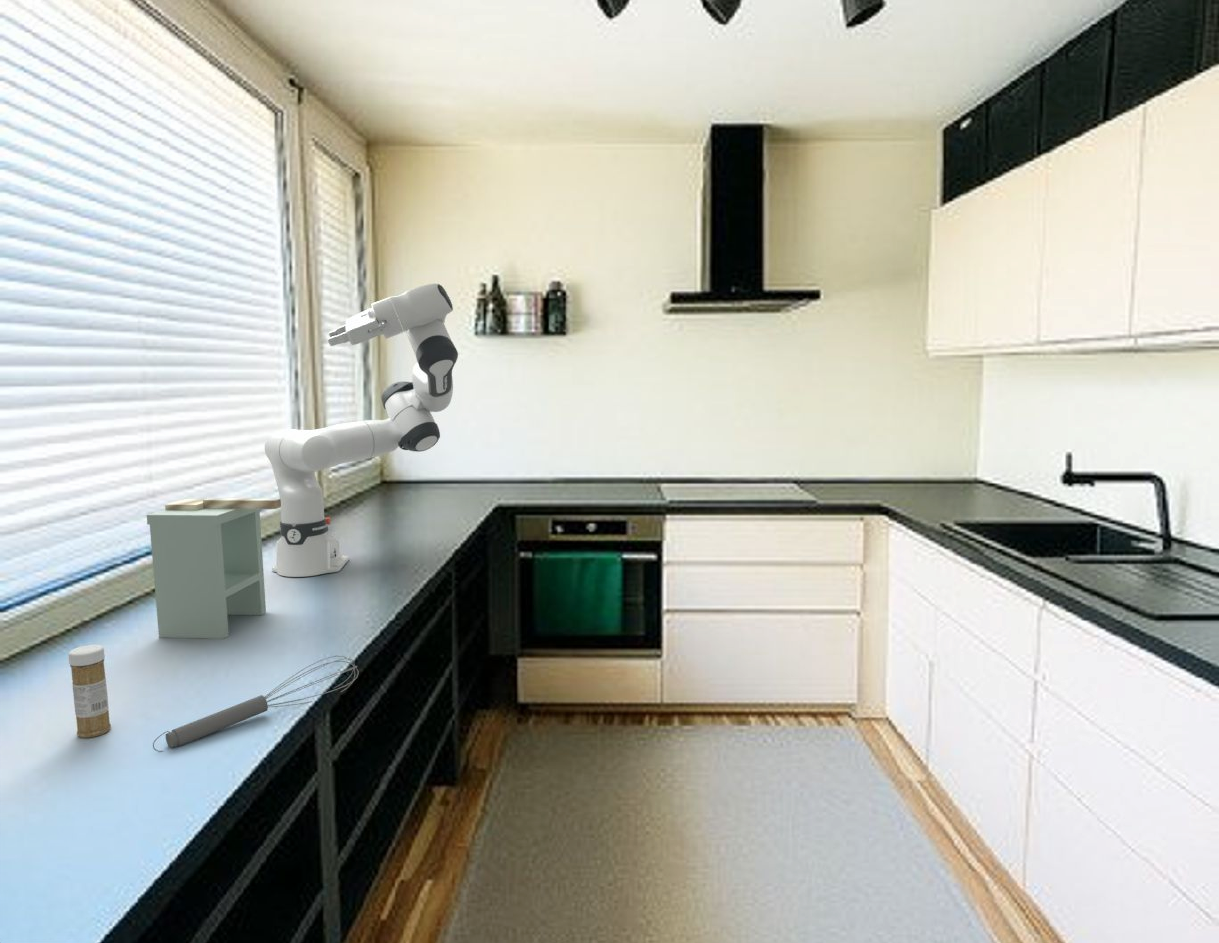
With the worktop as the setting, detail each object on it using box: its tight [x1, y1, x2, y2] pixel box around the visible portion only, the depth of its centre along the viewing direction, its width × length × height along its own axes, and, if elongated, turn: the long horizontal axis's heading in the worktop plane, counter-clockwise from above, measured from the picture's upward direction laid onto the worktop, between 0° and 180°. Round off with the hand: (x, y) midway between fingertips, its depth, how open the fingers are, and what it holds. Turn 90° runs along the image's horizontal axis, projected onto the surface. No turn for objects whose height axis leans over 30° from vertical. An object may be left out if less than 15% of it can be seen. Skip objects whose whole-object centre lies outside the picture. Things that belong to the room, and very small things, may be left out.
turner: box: [164, 497, 281, 510], centre depth 174 cm, size 23×7×2 cm, turn 86°
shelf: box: [146, 508, 267, 640], centre depth 176 cm, size 18×15×26 cm
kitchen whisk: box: [152, 655, 359, 753], centre depth 131 cm, size 6×34×6 cm, turn 140°
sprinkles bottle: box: [68, 644, 112, 739], centre depth 125 cm, size 5×5×13 cm
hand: (329, 339), depth 193 cm, fingers open, 8 cm apart
